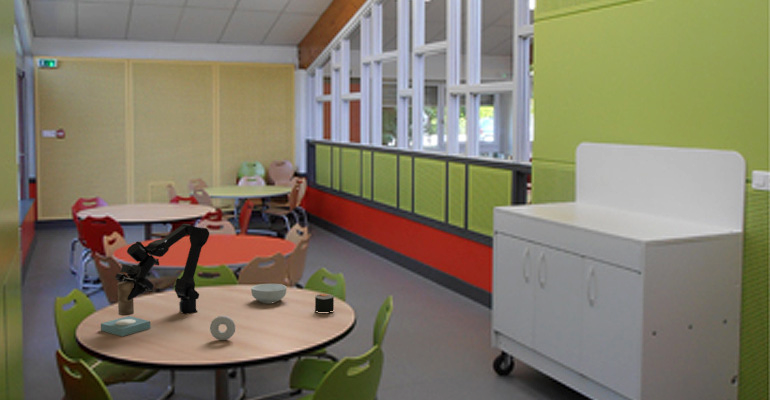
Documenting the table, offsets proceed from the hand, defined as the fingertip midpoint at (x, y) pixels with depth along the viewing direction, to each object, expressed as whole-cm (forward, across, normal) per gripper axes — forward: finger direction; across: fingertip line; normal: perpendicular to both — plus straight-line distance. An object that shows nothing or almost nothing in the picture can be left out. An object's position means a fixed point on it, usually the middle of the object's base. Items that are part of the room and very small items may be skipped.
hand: (122, 298), depth 301 cm
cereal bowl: (-39, +18, +59) cm, 73 cm away
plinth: (+9, 0, +10) cm, 14 cm away
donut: (0, +43, +19) cm, 47 cm away
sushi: (-40, +51, +60) cm, 88 cm away
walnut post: (+4, 0, +6) cm, 7 cm away
